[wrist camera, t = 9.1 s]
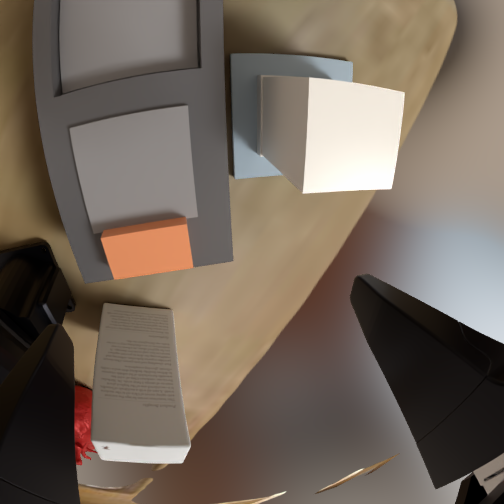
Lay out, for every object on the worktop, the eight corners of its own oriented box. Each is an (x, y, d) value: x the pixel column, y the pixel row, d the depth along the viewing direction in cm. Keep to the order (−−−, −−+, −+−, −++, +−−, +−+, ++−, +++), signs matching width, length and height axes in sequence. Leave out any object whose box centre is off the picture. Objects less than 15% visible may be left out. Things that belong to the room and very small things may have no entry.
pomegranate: (94, 370, 26) (91, 448, 18) (127, 412, 31) (132, 475, 24) (28, 375, 24) (16, 443, 16) (67, 415, 30) (65, 472, 22)
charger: (256, 153, 17) (300, 195, 12) (257, 75, 15) (306, 74, 9) (328, 151, 18) (392, 190, 13) (332, 80, 16) (406, 90, 10)
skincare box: (105, 334, 23) (98, 460, 13) (103, 300, 21) (87, 440, 11) (169, 341, 25) (184, 464, 16) (175, 308, 23) (192, 447, 14)
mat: (233, 177, 18) (235, 179, 18) (229, 54, 14) (230, 53, 14) (342, 169, 20) (345, 171, 20) (349, 62, 15) (352, 62, 15)
